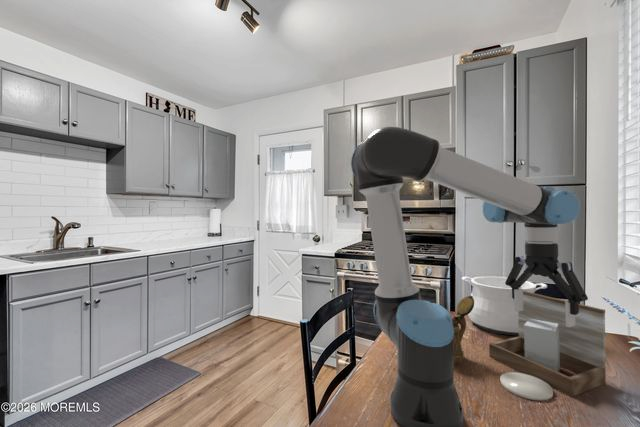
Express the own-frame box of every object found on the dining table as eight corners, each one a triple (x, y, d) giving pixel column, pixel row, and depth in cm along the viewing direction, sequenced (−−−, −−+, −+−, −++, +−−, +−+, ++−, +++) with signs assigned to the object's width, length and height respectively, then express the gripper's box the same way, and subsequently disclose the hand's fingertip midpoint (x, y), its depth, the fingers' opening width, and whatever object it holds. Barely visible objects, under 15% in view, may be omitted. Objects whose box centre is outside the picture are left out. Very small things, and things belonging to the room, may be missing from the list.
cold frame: (572, 396, 72) (571, 317, 72) (489, 356, 93) (488, 295, 93) (606, 383, 78) (605, 309, 78) (520, 348, 98) (520, 290, 98)
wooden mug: (483, 359, 91) (483, 299, 91) (443, 364, 88) (442, 302, 88) (463, 346, 100) (463, 292, 100) (426, 351, 97) (425, 294, 97)
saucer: (533, 405, 69) (533, 401, 69) (490, 380, 80) (490, 377, 80) (563, 393, 74) (563, 390, 74) (519, 372, 84) (518, 369, 84)
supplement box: (560, 368, 85) (560, 323, 85) (557, 379, 80) (556, 331, 80) (529, 360, 90) (528, 317, 90) (524, 369, 85) (523, 324, 85)
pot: (458, 329, 115) (457, 283, 115) (465, 310, 136) (465, 271, 136) (551, 345, 100) (551, 292, 100) (544, 322, 121) (543, 278, 121)
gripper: (604, 245, 75) (606, 331, 75) (507, 238, 98) (509, 303, 98) (586, 247, 72) (588, 336, 72) (491, 239, 95) (493, 307, 95)
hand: (542, 318), depth 85 cm, fingers open, 13 cm apart
